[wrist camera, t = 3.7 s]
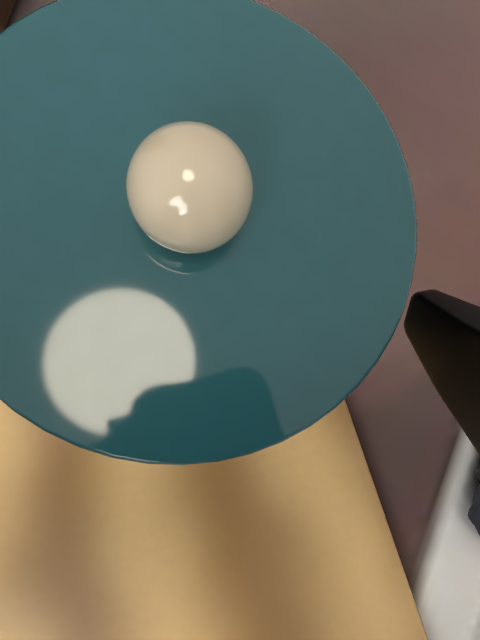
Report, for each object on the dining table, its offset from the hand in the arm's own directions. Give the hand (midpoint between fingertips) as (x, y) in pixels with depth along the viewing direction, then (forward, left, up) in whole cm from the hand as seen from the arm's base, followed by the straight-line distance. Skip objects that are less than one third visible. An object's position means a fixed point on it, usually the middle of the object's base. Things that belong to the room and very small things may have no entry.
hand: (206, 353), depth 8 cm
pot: (+1, -2, -9) cm, 9 cm away
